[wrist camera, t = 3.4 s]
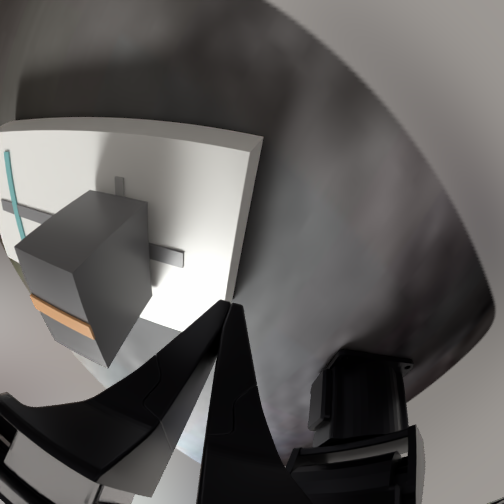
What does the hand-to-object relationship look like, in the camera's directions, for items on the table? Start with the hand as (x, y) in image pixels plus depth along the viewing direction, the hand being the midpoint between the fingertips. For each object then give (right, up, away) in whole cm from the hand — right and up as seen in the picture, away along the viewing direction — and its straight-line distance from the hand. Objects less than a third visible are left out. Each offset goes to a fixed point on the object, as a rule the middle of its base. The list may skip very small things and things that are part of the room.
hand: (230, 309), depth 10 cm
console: (-8, +5, +5) cm, 11 cm away
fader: (-5, +2, +2) cm, 6 cm away
